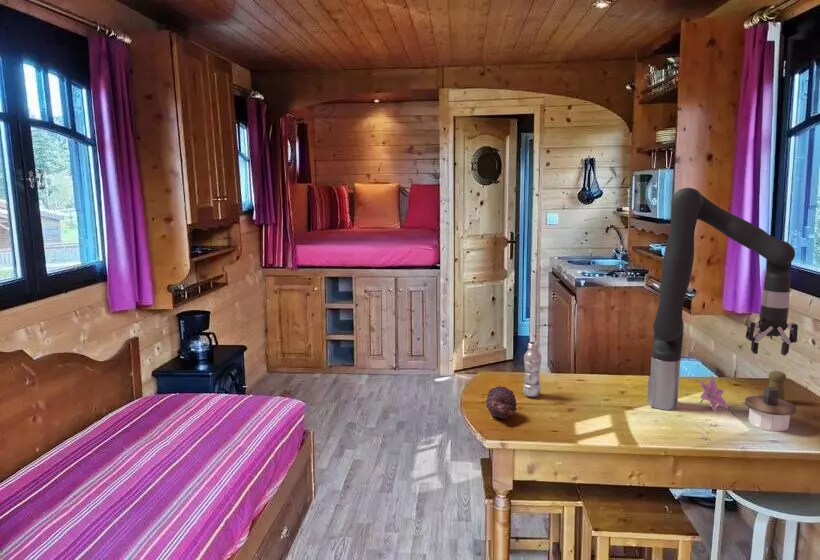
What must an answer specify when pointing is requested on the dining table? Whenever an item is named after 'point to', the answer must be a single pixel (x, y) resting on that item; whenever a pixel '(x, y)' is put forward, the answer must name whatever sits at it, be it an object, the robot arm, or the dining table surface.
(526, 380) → the plastic bottle
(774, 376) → the cork
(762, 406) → the walnut lid
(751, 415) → the ceramic bowl
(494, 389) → the pine cone
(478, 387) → the dining table surface
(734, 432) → the dining table surface
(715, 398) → the lily
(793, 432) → the dining table surface
